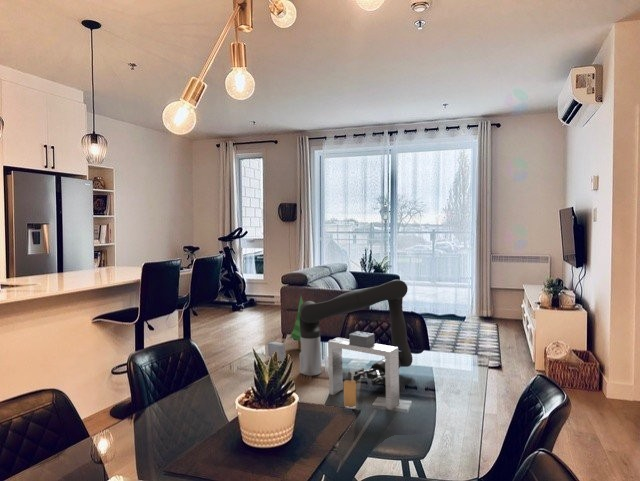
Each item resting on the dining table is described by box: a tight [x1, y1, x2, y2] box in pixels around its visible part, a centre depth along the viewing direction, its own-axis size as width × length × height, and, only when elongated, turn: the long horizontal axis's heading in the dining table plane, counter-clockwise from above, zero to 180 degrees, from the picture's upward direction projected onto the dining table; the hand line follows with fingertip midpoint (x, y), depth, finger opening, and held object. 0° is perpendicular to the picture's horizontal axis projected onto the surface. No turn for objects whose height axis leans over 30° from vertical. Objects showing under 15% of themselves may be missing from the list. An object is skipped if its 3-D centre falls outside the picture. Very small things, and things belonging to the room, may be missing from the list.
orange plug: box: [343, 371, 357, 407], centre depth 171 cm, size 5×5×14 cm
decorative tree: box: [289, 296, 304, 351], centre depth 249 cm, size 14×16×30 cm
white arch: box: [327, 330, 400, 411], centre depth 179 cm, size 28×7×26 cm, turn 54°
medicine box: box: [267, 341, 286, 363], centre depth 231 cm, size 8×4×9 cm, turn 58°
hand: (363, 381), depth 180 cm, fingers open, 8 cm apart
